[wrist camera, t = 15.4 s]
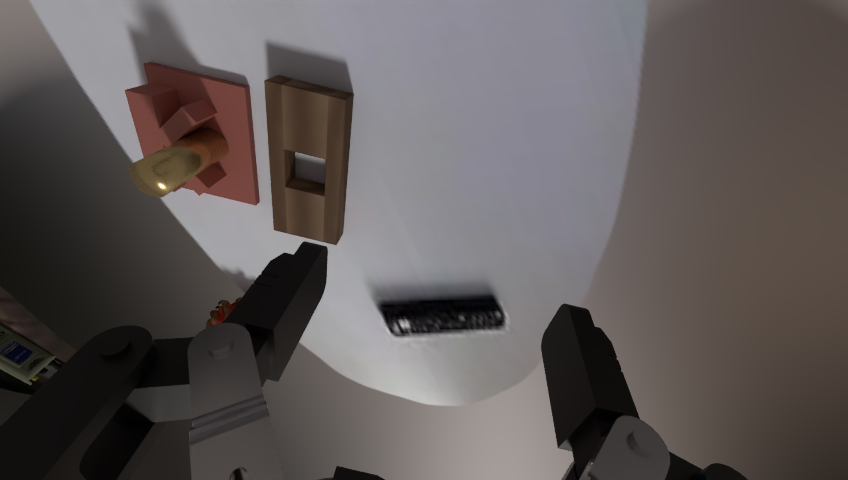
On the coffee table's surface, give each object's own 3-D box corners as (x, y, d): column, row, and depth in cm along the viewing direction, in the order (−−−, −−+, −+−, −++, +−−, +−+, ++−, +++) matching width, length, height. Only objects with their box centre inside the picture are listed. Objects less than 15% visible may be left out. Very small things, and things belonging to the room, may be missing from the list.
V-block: (249, 86, 42) (224, 96, 38) (259, 201, 51) (240, 219, 47) (150, 62, 42) (114, 69, 38) (178, 182, 51) (152, 198, 47)
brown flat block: (353, 93, 41) (345, 100, 38) (342, 233, 52) (336, 245, 50) (277, 75, 41) (264, 80, 38) (283, 219, 52) (274, 230, 50)
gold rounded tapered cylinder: (194, 144, 46) (125, 181, 37) (203, 120, 44) (132, 154, 35) (222, 163, 47) (162, 204, 38) (233, 141, 45) (172, 179, 36)
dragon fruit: (223, 300, 67) (281, 288, 66) (230, 345, 67) (289, 334, 65) (187, 306, 59) (253, 293, 57) (195, 358, 58) (262, 346, 57)
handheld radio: (-31, 303, 77) (80, 368, 87) (-34, 308, 79) (75, 371, 89) (-70, 327, 72) (53, 394, 82) (-72, 332, 73) (48, 396, 83)
